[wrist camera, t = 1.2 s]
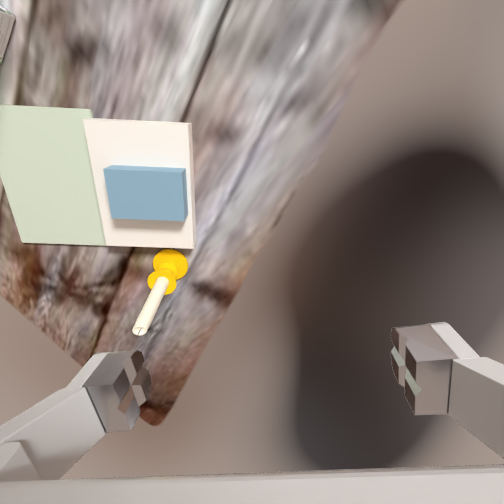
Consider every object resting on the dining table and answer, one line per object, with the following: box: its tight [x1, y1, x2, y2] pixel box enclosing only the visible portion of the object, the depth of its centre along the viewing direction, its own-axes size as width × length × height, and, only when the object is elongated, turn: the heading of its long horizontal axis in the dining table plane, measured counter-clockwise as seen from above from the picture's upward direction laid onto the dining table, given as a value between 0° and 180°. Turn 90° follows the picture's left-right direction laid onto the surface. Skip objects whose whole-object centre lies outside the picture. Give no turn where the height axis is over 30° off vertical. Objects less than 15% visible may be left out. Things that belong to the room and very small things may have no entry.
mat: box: [0, 105, 106, 246], centre depth 40 cm, size 18×13×1 cm
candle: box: [132, 249, 188, 335], centre depth 39 cm, size 5×5×16 cm
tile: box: [103, 165, 188, 221], centre depth 37 cm, size 6×9×2 cm, turn 87°
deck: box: [83, 118, 196, 249], centre depth 39 cm, size 16×12×2 cm
